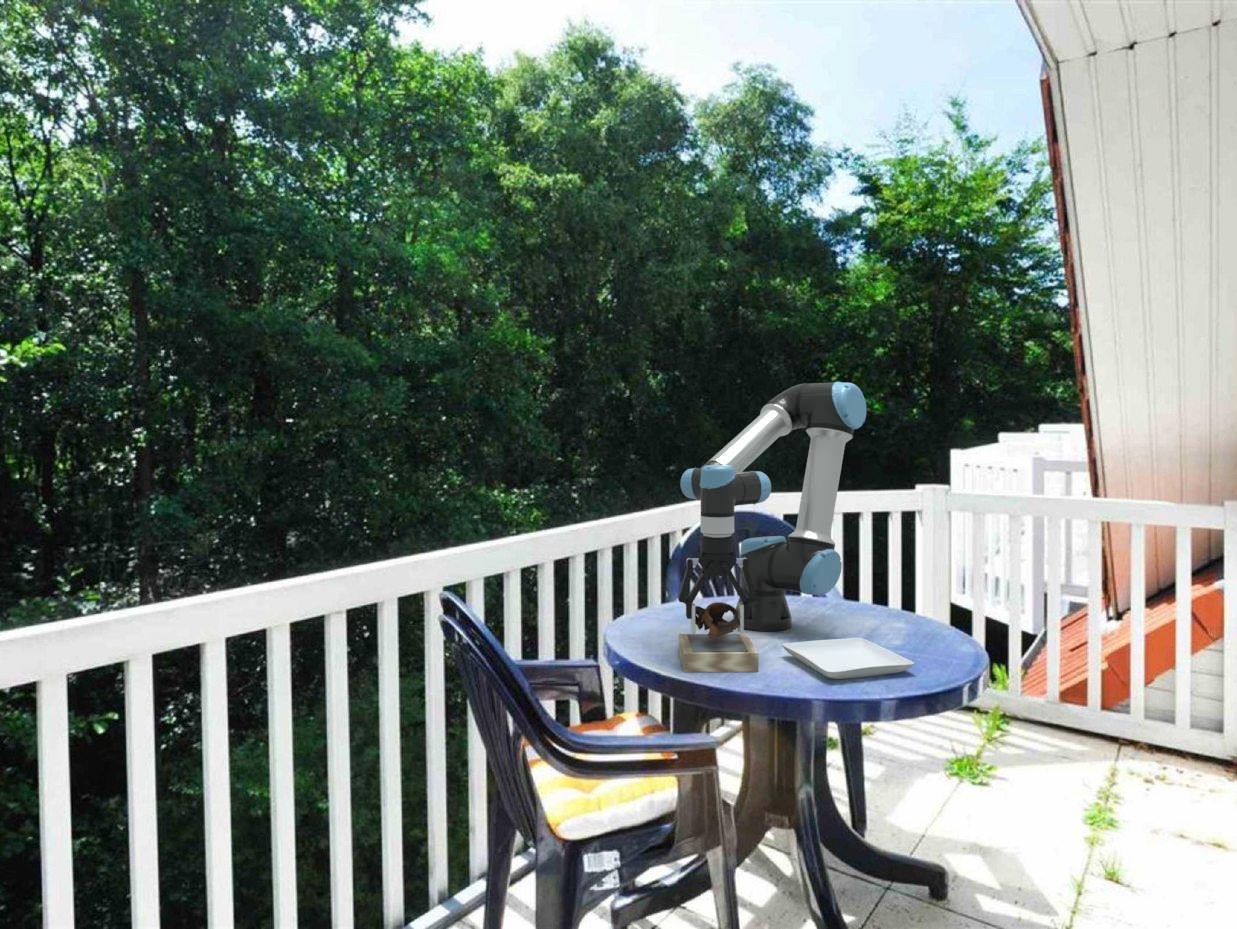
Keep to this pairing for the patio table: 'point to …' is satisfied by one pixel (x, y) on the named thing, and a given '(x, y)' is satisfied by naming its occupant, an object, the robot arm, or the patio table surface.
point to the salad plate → (848, 658)
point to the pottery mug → (716, 619)
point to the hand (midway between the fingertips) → (717, 632)
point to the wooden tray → (717, 653)
